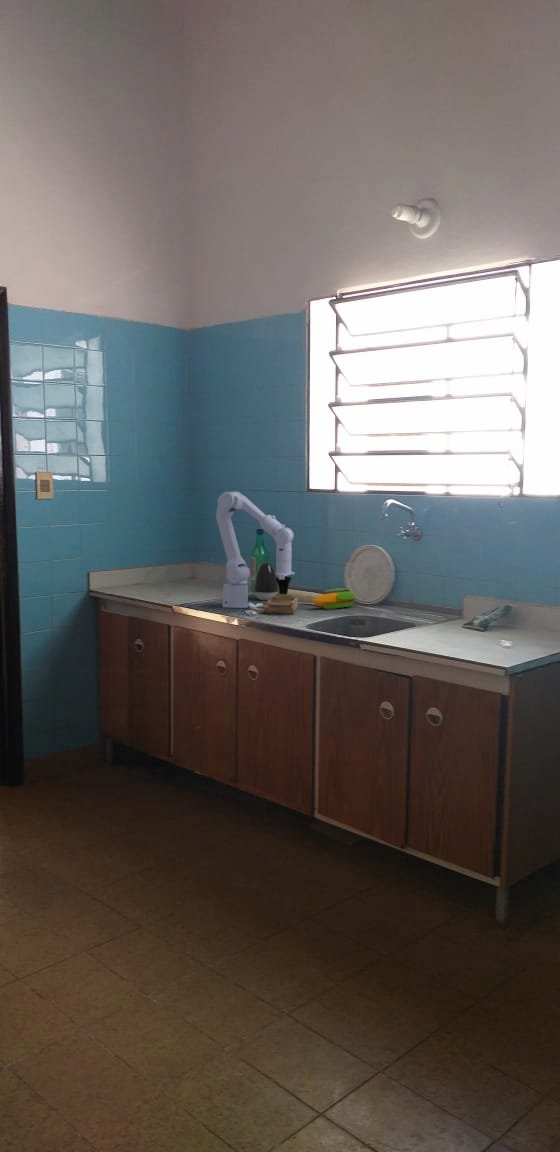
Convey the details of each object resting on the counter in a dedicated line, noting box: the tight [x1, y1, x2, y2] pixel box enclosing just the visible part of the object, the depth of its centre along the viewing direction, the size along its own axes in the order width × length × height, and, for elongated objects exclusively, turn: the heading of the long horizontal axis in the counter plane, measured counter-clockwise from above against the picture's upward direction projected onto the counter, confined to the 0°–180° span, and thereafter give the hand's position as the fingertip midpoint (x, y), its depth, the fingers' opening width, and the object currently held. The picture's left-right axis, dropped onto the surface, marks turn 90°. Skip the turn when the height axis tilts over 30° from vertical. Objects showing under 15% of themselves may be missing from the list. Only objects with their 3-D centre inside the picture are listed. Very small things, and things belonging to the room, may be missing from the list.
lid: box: [269, 593, 293, 607], centre depth 339 cm, size 14×7×3 cm, turn 173°
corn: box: [311, 587, 356, 610], centre depth 350 cm, size 7×8×20 cm
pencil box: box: [265, 596, 299, 616], centre depth 342 cm, size 16×10×4 cm, turn 173°
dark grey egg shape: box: [253, 561, 280, 601], centre depth 371 cm, size 10×10×15 cm
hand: (283, 596), depth 345 cm, fingers closed
